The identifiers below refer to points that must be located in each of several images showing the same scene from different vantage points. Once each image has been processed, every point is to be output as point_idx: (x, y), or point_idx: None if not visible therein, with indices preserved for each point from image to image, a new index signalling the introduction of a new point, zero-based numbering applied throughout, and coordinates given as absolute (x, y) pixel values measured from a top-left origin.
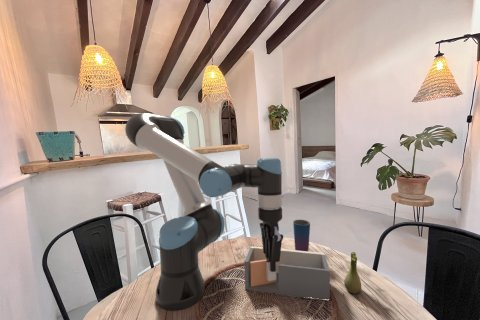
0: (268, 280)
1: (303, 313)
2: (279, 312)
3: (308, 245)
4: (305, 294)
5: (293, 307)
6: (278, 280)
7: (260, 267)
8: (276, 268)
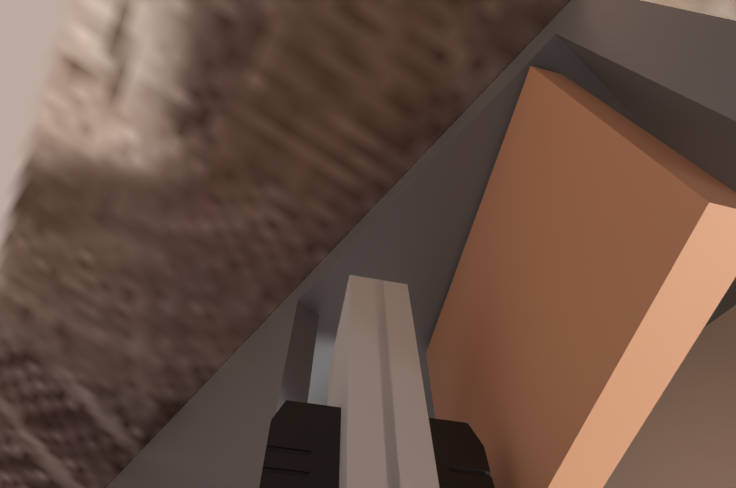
0: (351, 281)
1: (6, 315)
2: (74, 143)
3: None
4: (150, 454)
5: (95, 290)
6: None
7: (549, 327)
8: None
